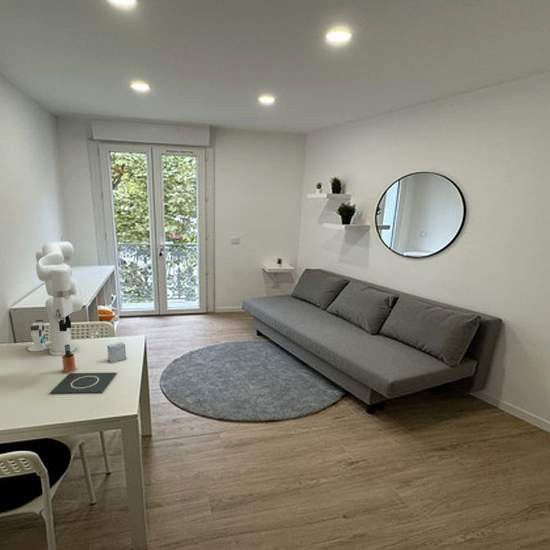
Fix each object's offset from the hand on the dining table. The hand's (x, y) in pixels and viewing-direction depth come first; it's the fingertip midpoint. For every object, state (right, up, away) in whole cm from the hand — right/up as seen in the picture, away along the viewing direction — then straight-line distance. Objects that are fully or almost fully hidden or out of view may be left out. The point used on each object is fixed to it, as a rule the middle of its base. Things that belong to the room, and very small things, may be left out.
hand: (65, 329), depth 172 cm
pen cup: (-1, -21, +4) cm, 22 cm away
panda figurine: (-33, -15, +30) cm, 47 cm away
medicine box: (+17, -19, +18) cm, 32 cm away
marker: (-1, -21, +4) cm, 21 cm away
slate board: (+13, -24, -7) cm, 29 cm away
